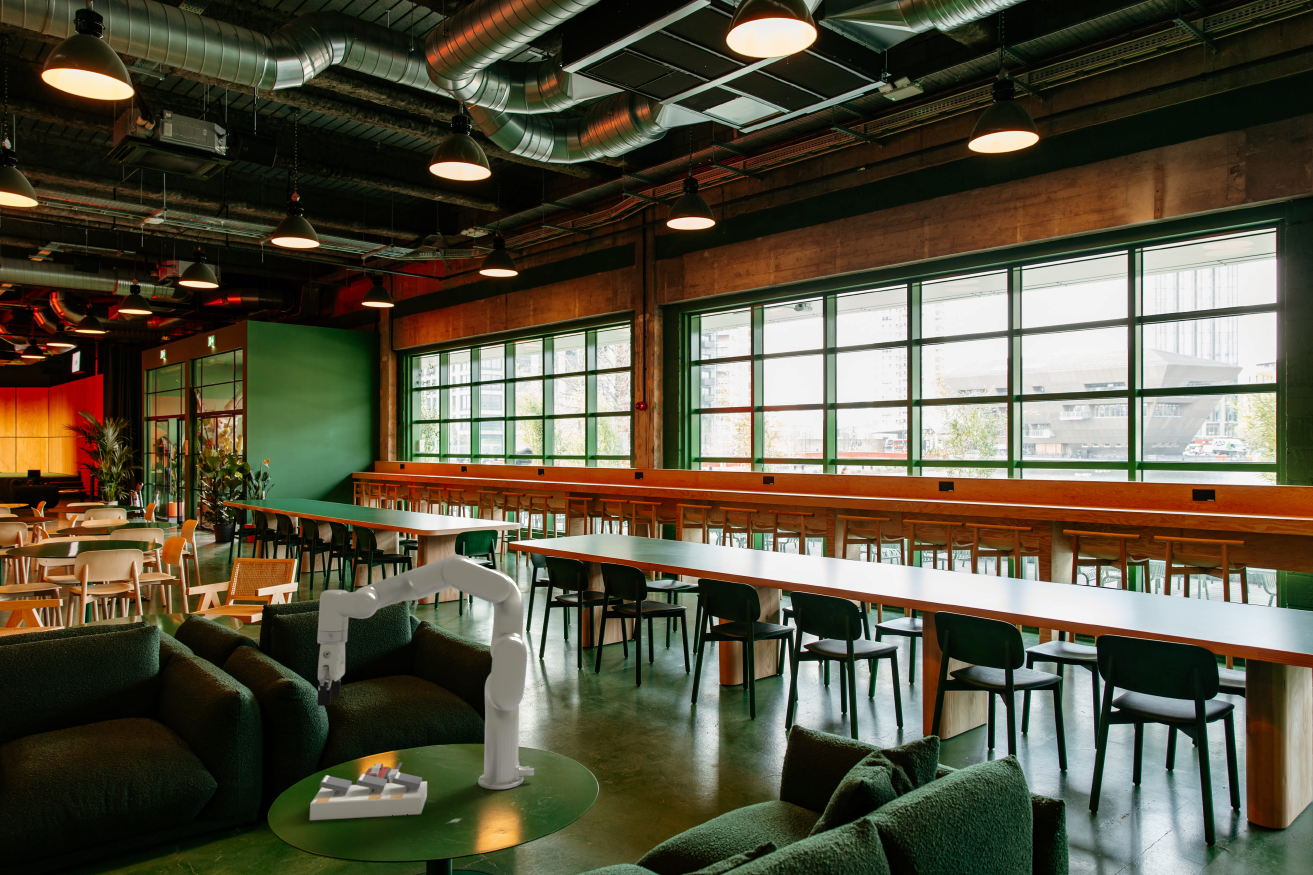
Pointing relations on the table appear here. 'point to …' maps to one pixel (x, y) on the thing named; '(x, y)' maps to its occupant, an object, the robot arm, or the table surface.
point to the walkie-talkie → (383, 771)
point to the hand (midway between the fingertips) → (328, 700)
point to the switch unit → (368, 802)
